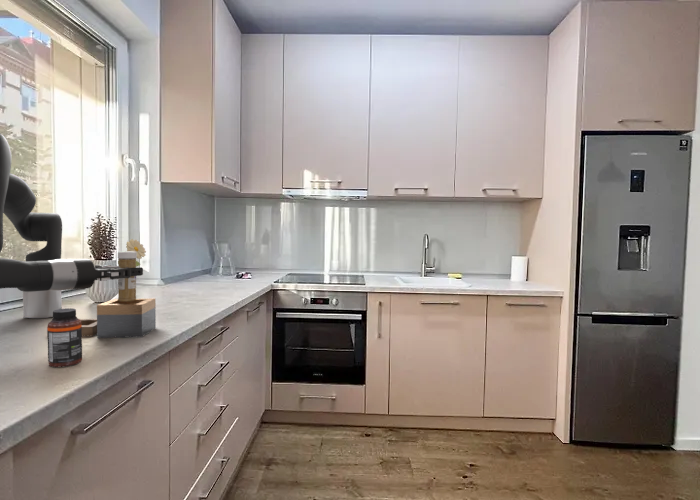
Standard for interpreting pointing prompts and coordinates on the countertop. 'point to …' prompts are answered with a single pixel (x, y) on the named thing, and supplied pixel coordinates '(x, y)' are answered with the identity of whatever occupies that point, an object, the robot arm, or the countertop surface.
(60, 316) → the supplement bottle
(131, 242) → the flower in vase
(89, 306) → the countertop surface
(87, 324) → the walnut stand
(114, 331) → the grey wooden square box
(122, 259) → the seasoning jar
